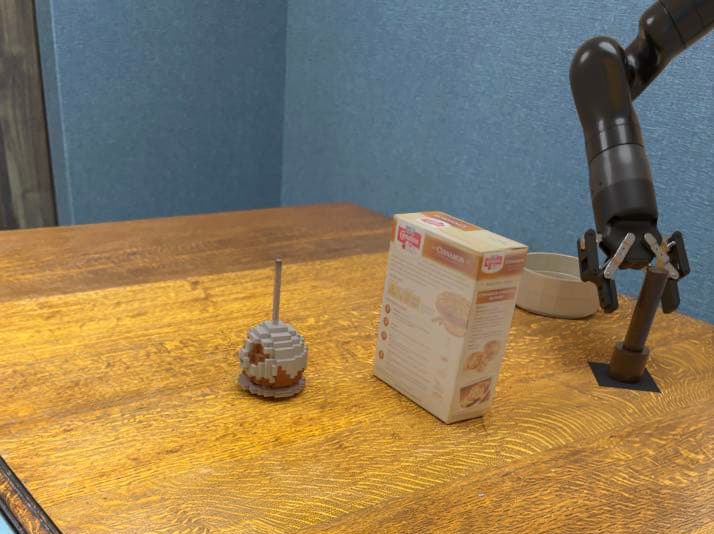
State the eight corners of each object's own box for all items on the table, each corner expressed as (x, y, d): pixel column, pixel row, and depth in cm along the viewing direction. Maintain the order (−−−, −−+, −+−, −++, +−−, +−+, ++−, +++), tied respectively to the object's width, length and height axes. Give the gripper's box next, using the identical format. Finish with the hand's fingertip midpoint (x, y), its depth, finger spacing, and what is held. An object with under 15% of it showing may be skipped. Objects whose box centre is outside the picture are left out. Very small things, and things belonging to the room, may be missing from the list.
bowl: (587, 294, 136) (597, 257, 132) (605, 324, 124) (616, 285, 121) (502, 284, 136) (510, 248, 133) (512, 314, 125) (521, 275, 121)
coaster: (645, 370, 110) (646, 367, 110) (660, 396, 104) (661, 392, 104) (586, 364, 111) (587, 361, 110) (598, 389, 104) (599, 385, 104)
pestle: (636, 371, 109) (671, 266, 101) (644, 385, 105) (681, 277, 97) (603, 367, 109) (636, 262, 101) (610, 381, 105) (644, 273, 97)
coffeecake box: (492, 414, 96) (532, 245, 84) (446, 426, 92) (481, 251, 81) (414, 365, 106) (440, 208, 94) (369, 374, 102) (391, 212, 91)
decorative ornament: (229, 376, 98) (232, 251, 90) (288, 370, 101) (297, 247, 93) (252, 405, 93) (258, 273, 84) (314, 397, 96) (326, 269, 87)
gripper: (588, 173, 99) (608, 298, 97) (689, 177, 103) (710, 298, 100) (557, 207, 107) (575, 324, 104) (652, 210, 110) (671, 323, 108)
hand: (641, 311), depth 102 cm, fingers open, 8 cm apart
